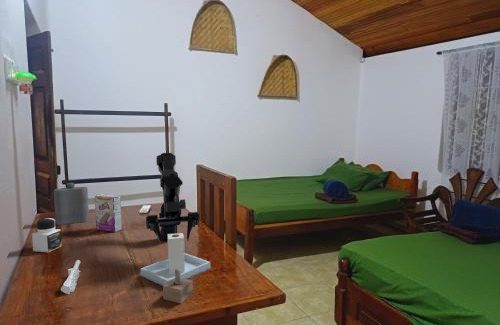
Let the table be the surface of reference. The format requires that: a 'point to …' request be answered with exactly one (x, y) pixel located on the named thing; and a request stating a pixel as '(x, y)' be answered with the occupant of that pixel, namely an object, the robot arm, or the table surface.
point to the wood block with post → (178, 288)
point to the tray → (161, 274)
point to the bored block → (176, 253)
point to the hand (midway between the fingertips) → (174, 241)
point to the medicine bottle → (46, 236)
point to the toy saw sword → (71, 279)
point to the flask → (71, 205)
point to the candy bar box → (108, 212)
